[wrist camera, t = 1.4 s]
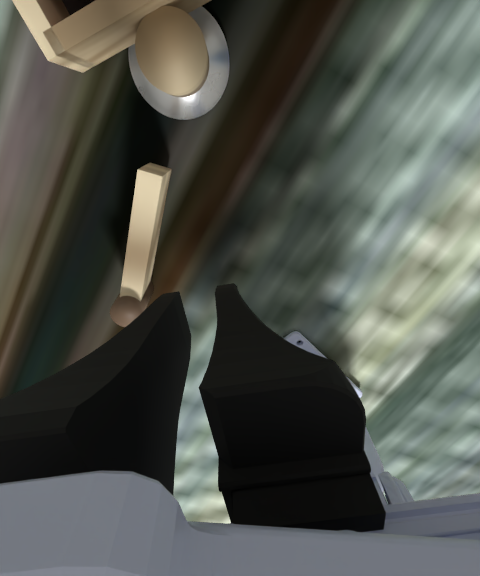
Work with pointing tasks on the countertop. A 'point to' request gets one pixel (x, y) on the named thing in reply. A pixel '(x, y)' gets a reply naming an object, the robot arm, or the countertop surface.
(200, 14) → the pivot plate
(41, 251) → the countertop surface
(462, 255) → the countertop surface
